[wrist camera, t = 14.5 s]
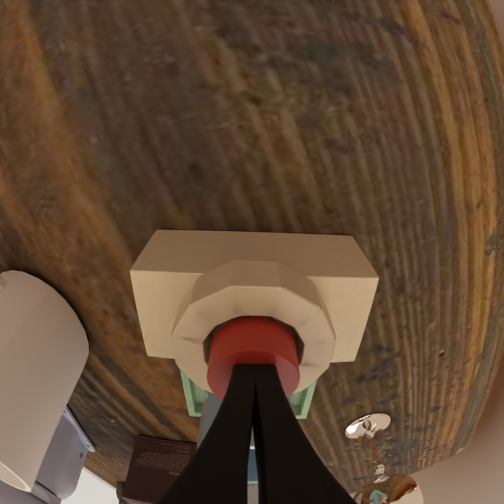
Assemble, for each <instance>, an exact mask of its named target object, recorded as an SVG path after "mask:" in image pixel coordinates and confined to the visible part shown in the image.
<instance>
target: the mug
mask: <svg viewBox="0 0 504 504" xmlns="http://www.w3.org/2000/svg"><path fill="white" fill-rule="evenodd" d="M88 355H89V343H88V340H87V336H86V333H85V330H84V328H83V326H82V324H81V323H80V321H79V319H78V317H77V315H76V313H75V312H74V310H73V309H72V308H71V307H70V305H69V304H68V303H67V301H66V300H65V299H64V298H63V297H62V296H61V295H60V294H59V293H58V292H57V291H56V290H55V289H54V288H52V287H51V286H49V285H48V284H47V283H45V282H44V281H42V280H41V279H39V278H36V277H34V276H32V275H30V274H27V273H25V272H20V271H14V270H11V271H7V272H2V273H1V274H0V480H2V481H3V482H5V483H7V484H9V485H11V486H13V487H15V488H17V489H20V490H23V491H26V492H31V490H32V487H33V485H34V482H35V479H36V476H37V474H38V471H39V469H40V466H41V463H42V461H43V458H44V456H45V453H46V451H47V448H48V446H49V444H50V441H51V439H52V436H53V434H54V432H55V429H56V427H57V425H58V423H59V420H60V418H61V416H62V414H63V411H64V409H65V407H66V405H67V403H68V401H69V398H70V396H71V394H72V392H73V390H74V388H75V386H76V384H77V382H78V380H79V378H80V376H81V374H82V371H83V369H84V366H85V364H86V361H87V358H88Z"/></svg>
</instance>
